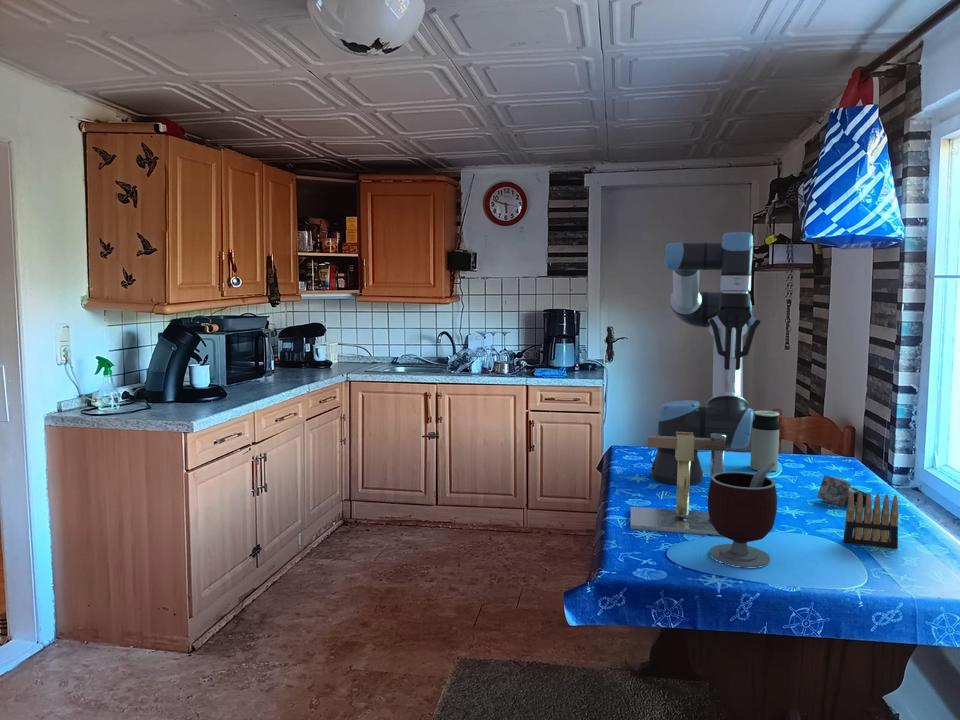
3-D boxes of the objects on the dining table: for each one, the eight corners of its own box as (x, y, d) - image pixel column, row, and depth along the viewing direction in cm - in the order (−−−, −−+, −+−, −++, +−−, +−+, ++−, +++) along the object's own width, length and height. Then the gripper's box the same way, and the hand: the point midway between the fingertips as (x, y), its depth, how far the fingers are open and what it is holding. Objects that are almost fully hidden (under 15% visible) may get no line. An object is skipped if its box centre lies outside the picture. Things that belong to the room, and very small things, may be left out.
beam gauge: (630, 528, 171) (633, 436, 169) (630, 510, 185) (633, 425, 183) (745, 537, 166) (749, 442, 164) (736, 517, 180) (740, 429, 177)
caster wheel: (867, 511, 193) (861, 515, 185) (824, 494, 200) (816, 497, 192) (876, 488, 193) (869, 491, 185) (832, 472, 199) (824, 474, 191)
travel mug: (781, 472, 222) (784, 415, 220) (755, 472, 222) (758, 415, 220) (771, 465, 230) (774, 410, 228) (746, 465, 230) (749, 410, 228)
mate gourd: (737, 574, 145) (742, 478, 143) (691, 550, 158) (695, 461, 156) (794, 562, 151) (799, 470, 149) (746, 540, 164) (750, 455, 162)
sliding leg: (674, 519, 174) (677, 435, 172) (672, 512, 179) (675, 430, 177) (691, 520, 173) (694, 436, 171) (689, 513, 178) (692, 431, 176)
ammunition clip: (895, 546, 161) (899, 494, 160) (897, 548, 159) (901, 496, 158) (843, 540, 165) (846, 489, 163) (844, 543, 163) (847, 491, 161)
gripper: (710, 292, 184) (707, 383, 187) (764, 292, 182) (759, 385, 184) (707, 292, 192) (704, 379, 194) (759, 292, 189) (755, 381, 192)
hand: (731, 382), depth 189 cm, fingers closed
